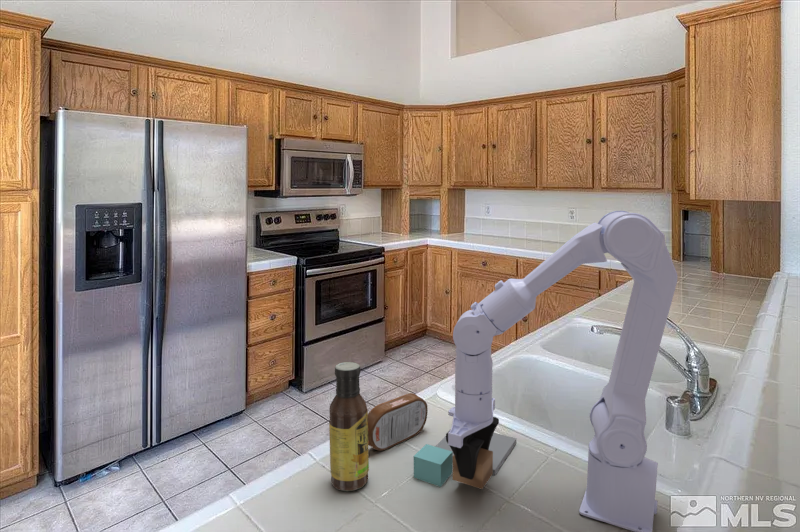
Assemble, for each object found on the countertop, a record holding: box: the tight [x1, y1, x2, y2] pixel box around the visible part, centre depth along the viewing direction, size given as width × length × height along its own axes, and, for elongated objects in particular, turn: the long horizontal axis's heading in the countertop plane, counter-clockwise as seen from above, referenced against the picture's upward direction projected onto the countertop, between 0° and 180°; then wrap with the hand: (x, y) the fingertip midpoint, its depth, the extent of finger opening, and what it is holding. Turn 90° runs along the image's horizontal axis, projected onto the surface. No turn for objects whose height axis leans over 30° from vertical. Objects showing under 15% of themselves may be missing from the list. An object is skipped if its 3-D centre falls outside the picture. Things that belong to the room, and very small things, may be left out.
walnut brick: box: [452, 448, 493, 490], centre depth 76 cm, size 5×4×4 cm
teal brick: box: [413, 443, 453, 488], centre depth 80 cm, size 5×4×4 cm
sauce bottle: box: [328, 361, 370, 492], centre depth 77 cm, size 6×6×20 cm
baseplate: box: [435, 432, 517, 476], centre depth 88 cm, size 12×12×1 cm
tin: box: [368, 392, 428, 452], centre depth 90 cm, size 15×3×8 cm, turn 132°
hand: (472, 468), depth 76 cm, fingers closed on walnut brick, 4 cm apart
